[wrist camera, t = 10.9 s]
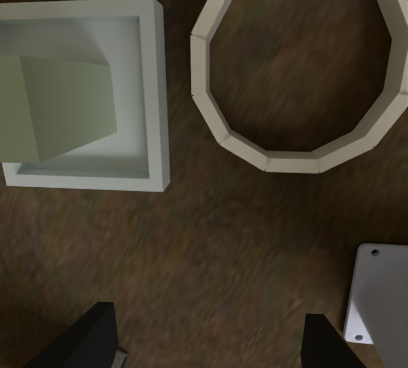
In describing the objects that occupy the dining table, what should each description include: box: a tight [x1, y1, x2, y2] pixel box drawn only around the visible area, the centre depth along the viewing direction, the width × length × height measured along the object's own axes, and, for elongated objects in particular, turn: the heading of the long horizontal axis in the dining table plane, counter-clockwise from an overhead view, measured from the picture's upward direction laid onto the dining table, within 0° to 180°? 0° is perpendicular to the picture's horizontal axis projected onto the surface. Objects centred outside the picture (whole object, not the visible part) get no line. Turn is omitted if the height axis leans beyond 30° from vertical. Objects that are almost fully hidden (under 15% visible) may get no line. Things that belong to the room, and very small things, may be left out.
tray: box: [0, 0, 170, 192], centre depth 19 cm, size 11×11×2 cm
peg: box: [0, 55, 118, 163], centre depth 16 cm, size 4×4×8 cm
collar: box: [190, 0, 408, 173], centre depth 17 cm, size 12×12×2 cm
